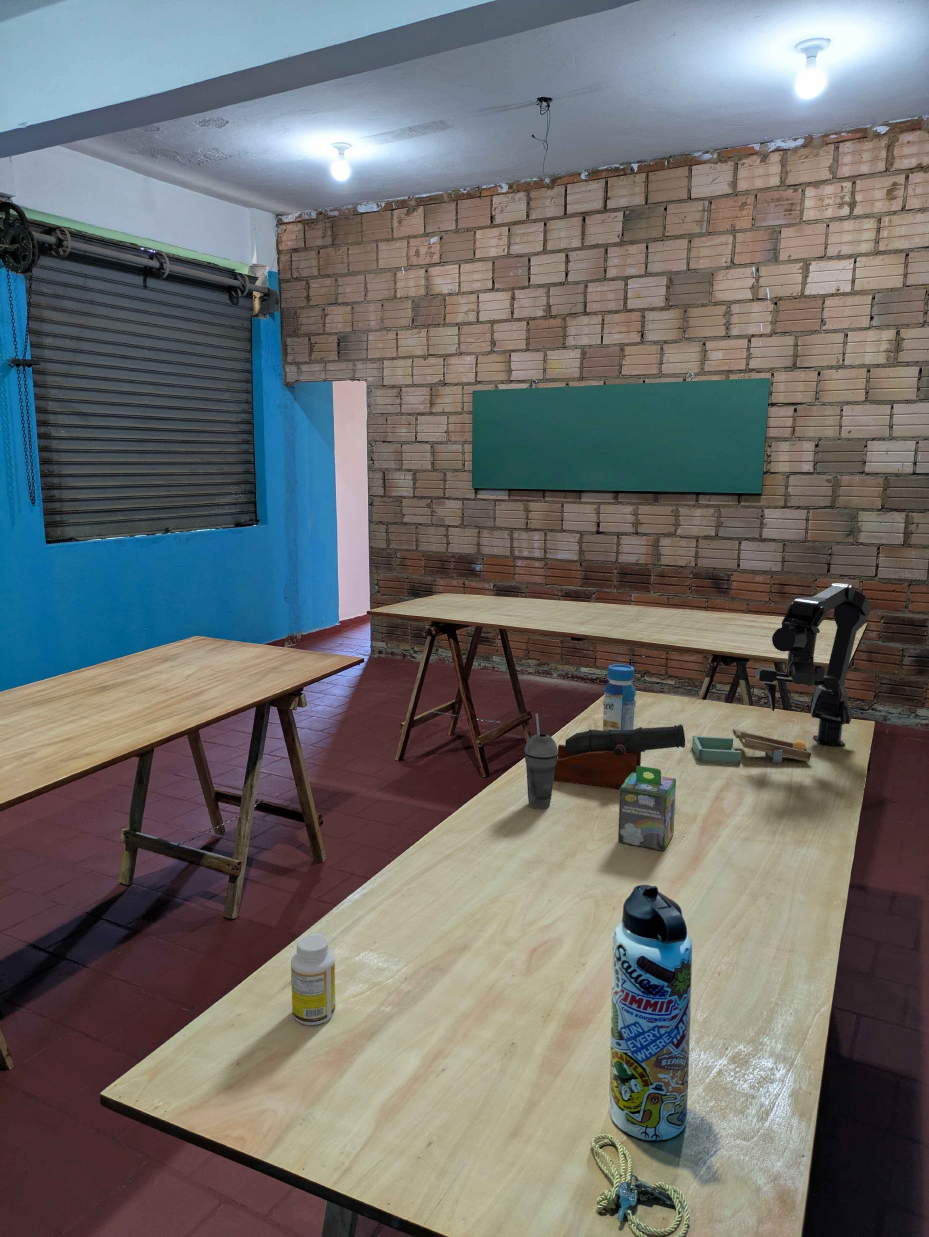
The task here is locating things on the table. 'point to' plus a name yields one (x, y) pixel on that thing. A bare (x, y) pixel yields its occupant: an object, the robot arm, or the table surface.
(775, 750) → the fulcrum
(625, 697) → the beverage bottle
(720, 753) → the tray
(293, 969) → the supplement bottle
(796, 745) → the ball
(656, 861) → the table surface
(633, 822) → the chalk box
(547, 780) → the beverage cup
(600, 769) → the cannon model
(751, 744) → the chute
